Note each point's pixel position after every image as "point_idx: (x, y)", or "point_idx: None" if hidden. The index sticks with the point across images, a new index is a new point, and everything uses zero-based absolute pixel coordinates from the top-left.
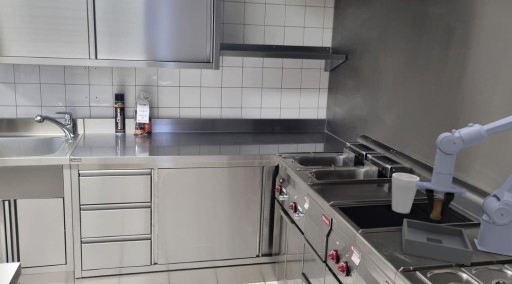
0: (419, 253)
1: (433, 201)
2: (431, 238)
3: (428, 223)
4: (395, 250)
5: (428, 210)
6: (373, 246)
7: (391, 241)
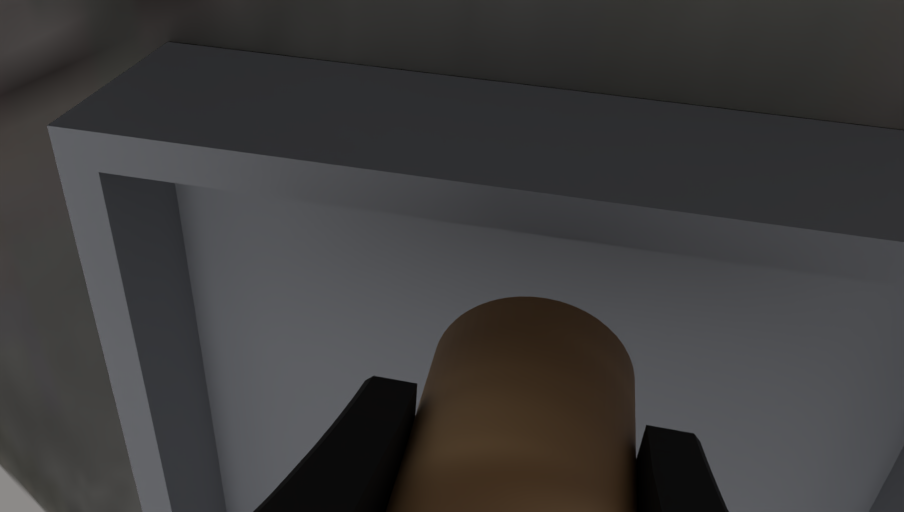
0: None
1: None
2: None
3: (465, 216)
4: None
5: (355, 400)
6: (7, 469)
7: None
